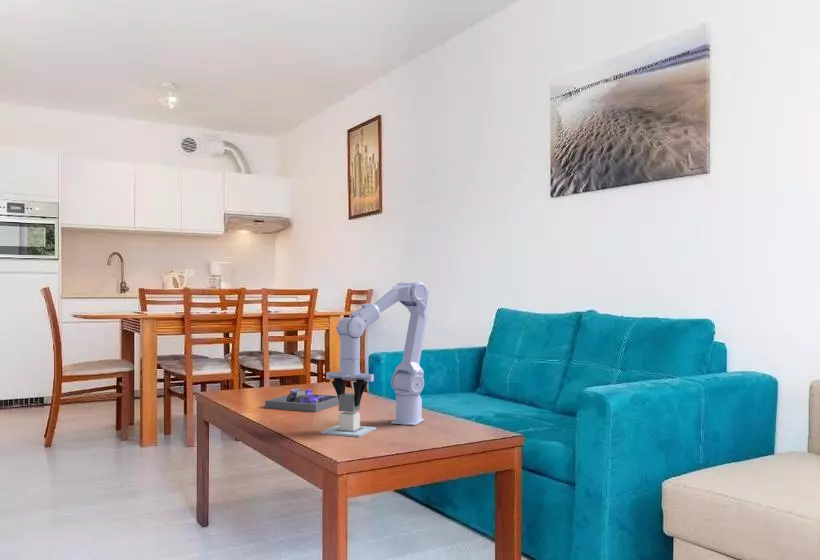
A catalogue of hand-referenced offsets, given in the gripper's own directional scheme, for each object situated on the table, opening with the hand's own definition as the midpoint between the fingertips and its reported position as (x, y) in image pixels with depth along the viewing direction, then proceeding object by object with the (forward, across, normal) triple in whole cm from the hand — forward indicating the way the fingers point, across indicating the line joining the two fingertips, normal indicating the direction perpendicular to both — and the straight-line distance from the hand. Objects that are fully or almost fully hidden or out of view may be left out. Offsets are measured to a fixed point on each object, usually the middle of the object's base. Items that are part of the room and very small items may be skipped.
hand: (349, 405), depth 192 cm
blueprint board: (+8, 0, 0) cm, 8 cm away
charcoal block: (+2, 0, 0) cm, 2 cm away
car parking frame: (+8, -34, +34) cm, 49 cm away
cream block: (+7, 0, 0) cm, 7 cm away
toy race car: (+8, -32, +35) cm, 48 cm away
